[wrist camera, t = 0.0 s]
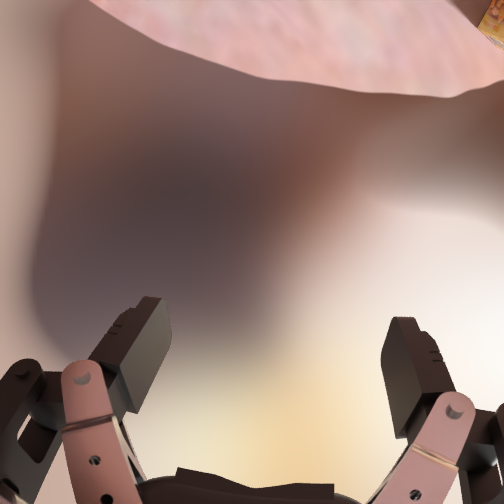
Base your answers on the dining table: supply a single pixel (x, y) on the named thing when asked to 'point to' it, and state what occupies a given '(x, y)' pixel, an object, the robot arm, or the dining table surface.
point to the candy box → (494, 23)
